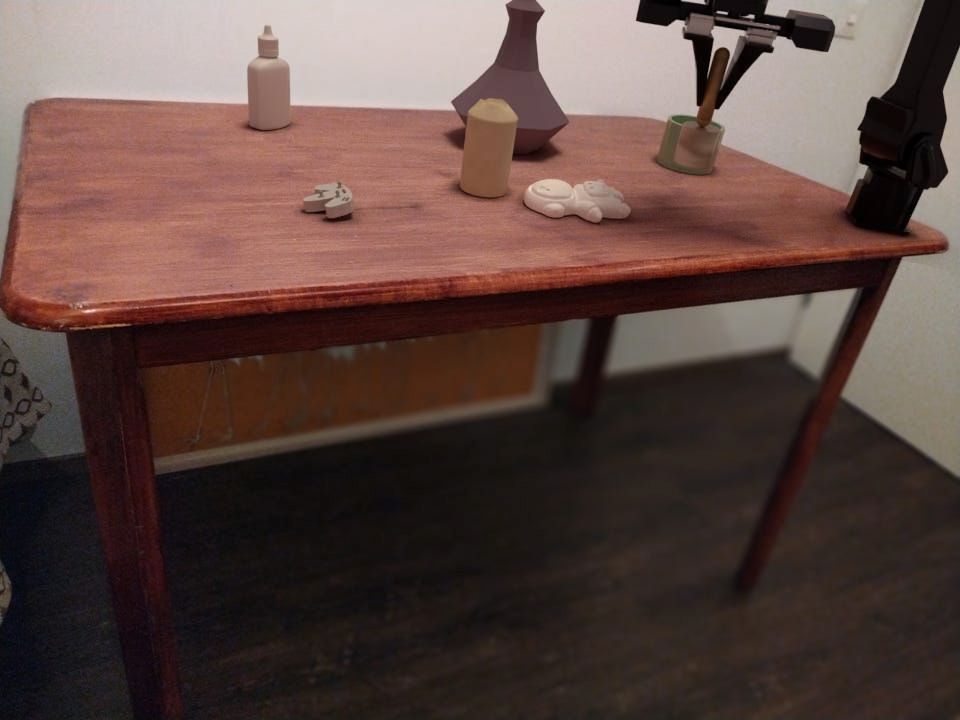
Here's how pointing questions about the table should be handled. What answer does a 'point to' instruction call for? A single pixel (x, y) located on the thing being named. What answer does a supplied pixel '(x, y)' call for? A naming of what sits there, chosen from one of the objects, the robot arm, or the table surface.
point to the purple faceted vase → (518, 81)
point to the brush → (703, 120)
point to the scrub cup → (671, 142)
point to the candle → (488, 148)
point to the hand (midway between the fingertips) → (707, 107)
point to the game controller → (331, 200)
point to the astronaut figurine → (576, 200)
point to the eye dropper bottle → (268, 85)
